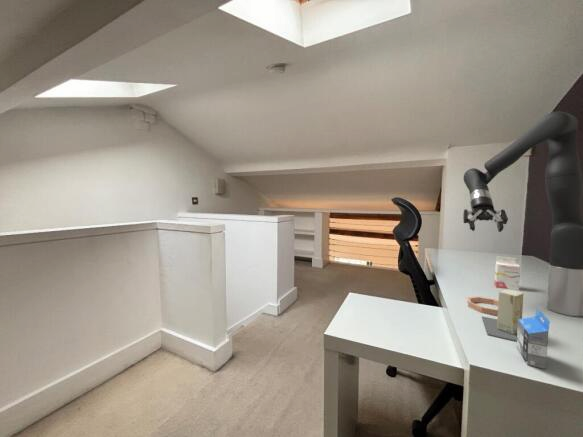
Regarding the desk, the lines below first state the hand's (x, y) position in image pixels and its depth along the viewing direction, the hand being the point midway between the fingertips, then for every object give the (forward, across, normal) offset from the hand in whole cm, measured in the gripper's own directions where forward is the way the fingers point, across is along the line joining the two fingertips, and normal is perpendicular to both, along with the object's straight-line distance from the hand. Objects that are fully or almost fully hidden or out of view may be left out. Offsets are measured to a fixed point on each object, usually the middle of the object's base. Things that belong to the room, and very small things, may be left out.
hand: (486, 230), depth 96 cm
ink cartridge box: (+1, +14, +42) cm, 45 cm away
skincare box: (+37, +2, +5) cm, 38 cm away
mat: (+38, +2, +5) cm, 38 cm away
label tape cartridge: (+48, +2, -5) cm, 49 cm away
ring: (+25, 0, +18) cm, 31 cm away
